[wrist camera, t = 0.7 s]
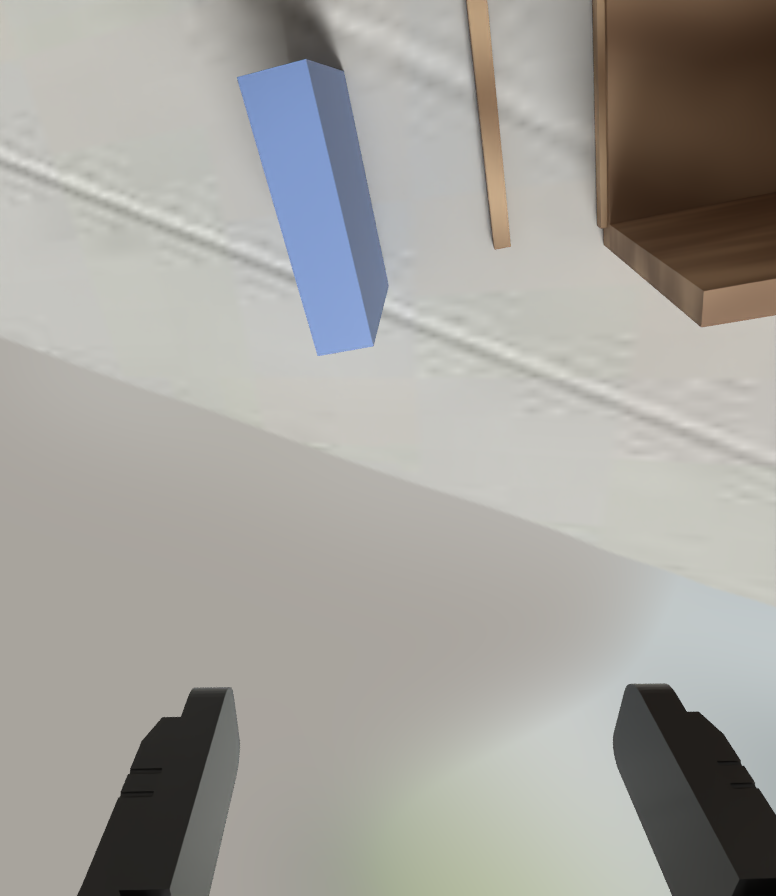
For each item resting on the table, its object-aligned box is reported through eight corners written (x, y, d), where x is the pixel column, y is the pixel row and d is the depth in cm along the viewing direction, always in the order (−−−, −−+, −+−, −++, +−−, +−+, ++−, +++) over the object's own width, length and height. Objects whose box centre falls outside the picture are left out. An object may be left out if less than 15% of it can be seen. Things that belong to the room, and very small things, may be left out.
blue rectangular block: (294, 84, 26) (237, 77, 19) (344, 71, 26) (305, 58, 18) (346, 293, 31) (317, 356, 24) (388, 285, 31) (373, 346, 23)
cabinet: (447, -169, 22) (461, -473, 10) (971, -339, 19) (1812, -1028, 7) (495, 265, 30) (533, 367, 18) (864, 194, 27) (1182, 262, 16)
